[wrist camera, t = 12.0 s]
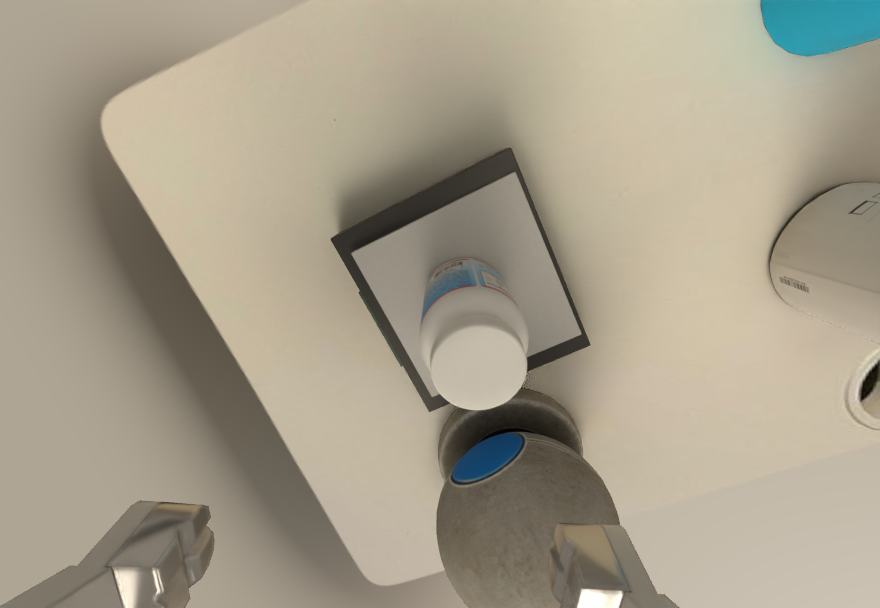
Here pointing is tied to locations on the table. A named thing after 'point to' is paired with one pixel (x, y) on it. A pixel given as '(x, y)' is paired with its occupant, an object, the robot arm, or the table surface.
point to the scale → (461, 236)
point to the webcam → (512, 498)
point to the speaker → (834, 259)
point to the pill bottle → (473, 335)
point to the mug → (821, 24)
